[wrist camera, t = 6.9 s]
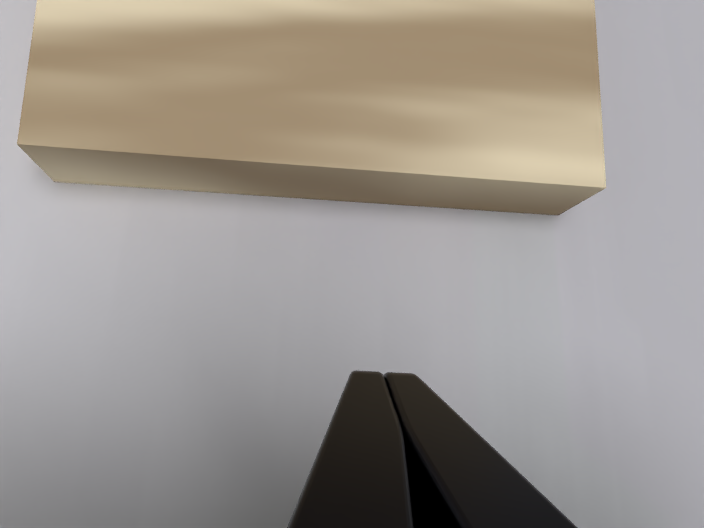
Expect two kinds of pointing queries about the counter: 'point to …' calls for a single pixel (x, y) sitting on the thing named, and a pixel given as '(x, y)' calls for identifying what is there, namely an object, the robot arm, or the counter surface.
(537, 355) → the counter surface
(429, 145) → the oak plank
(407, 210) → the counter surface
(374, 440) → the robot arm
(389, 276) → the counter surface
